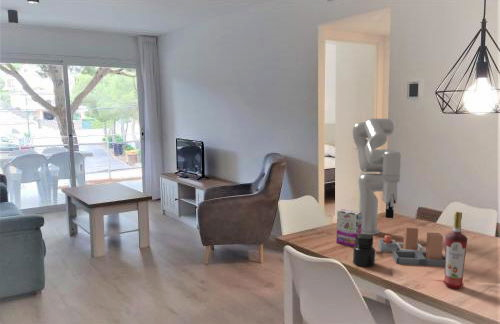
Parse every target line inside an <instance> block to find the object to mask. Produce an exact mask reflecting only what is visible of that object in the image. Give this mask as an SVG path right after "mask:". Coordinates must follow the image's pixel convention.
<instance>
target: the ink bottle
mask: <svg viewBox="0 0 500 324" xmlns="http://www.w3.org/2000/svg"><path fill="white" fill-rule="evenodd" d="M356 242H357V243H356V244H357V245H356V246H355V247H353V253H352V254H353V255H352V257H353V259H352V262H353V264H354V265H356V266H360V267H361V268H362V267H363V268H369V267H373V266H375V263H376V262H375V261H376V249H375V247H374V246H373V245H374V235H368V234H359V235H357V238H356Z"/></svg>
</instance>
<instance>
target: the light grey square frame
mask: <svg viewBox="0 0 500 324" xmlns="http://www.w3.org/2000/svg"><path fill="white" fill-rule="evenodd" d="M396 243H397V251H413V252H426V249H424V247H423V246H422V245H421V243H417V250H405V249H403V242H396Z"/></svg>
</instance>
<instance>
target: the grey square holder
mask: <svg viewBox="0 0 500 324" xmlns="http://www.w3.org/2000/svg"><path fill="white" fill-rule="evenodd" d="M384 240H385V238H378V250H379V252H380V254H382V252H388V253H390V252H391V253H392V251H398V250H397V243H398V242H396V240H395V239H393V238H391V243H384Z"/></svg>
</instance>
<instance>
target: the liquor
mask: <svg viewBox="0 0 500 324" xmlns="http://www.w3.org/2000/svg"><path fill="white" fill-rule="evenodd" d="M462 218H463V212H461V211H454V212H453V225H452V230H451V232H449V233H447V234H445V236H444V238H445V239H444V240H445V245H444V255H445V266H444V279H443V280H442V283H444V284H445V286H447V288H450V289H454V290H456V289H460V288H462V287H463V286H464V282H463V278H464V271H465V270H464V269H465V268H464V267H465V263H466V262H465V260H466V255H467V245H468V239H469V238H468V237H467V236H466V235H465V234H462Z"/></svg>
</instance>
